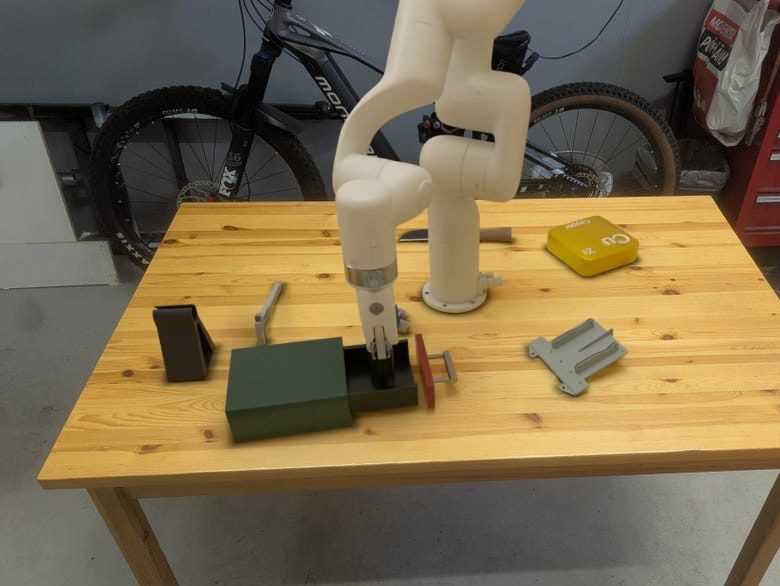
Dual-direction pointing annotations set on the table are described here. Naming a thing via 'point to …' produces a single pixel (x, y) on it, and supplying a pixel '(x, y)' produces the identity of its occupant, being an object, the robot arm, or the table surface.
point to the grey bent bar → (266, 315)
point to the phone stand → (183, 342)
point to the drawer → (404, 387)
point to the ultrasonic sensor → (401, 319)
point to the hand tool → (485, 234)
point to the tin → (382, 380)
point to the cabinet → (287, 389)
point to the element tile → (592, 245)
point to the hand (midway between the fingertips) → (381, 364)
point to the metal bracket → (578, 353)
